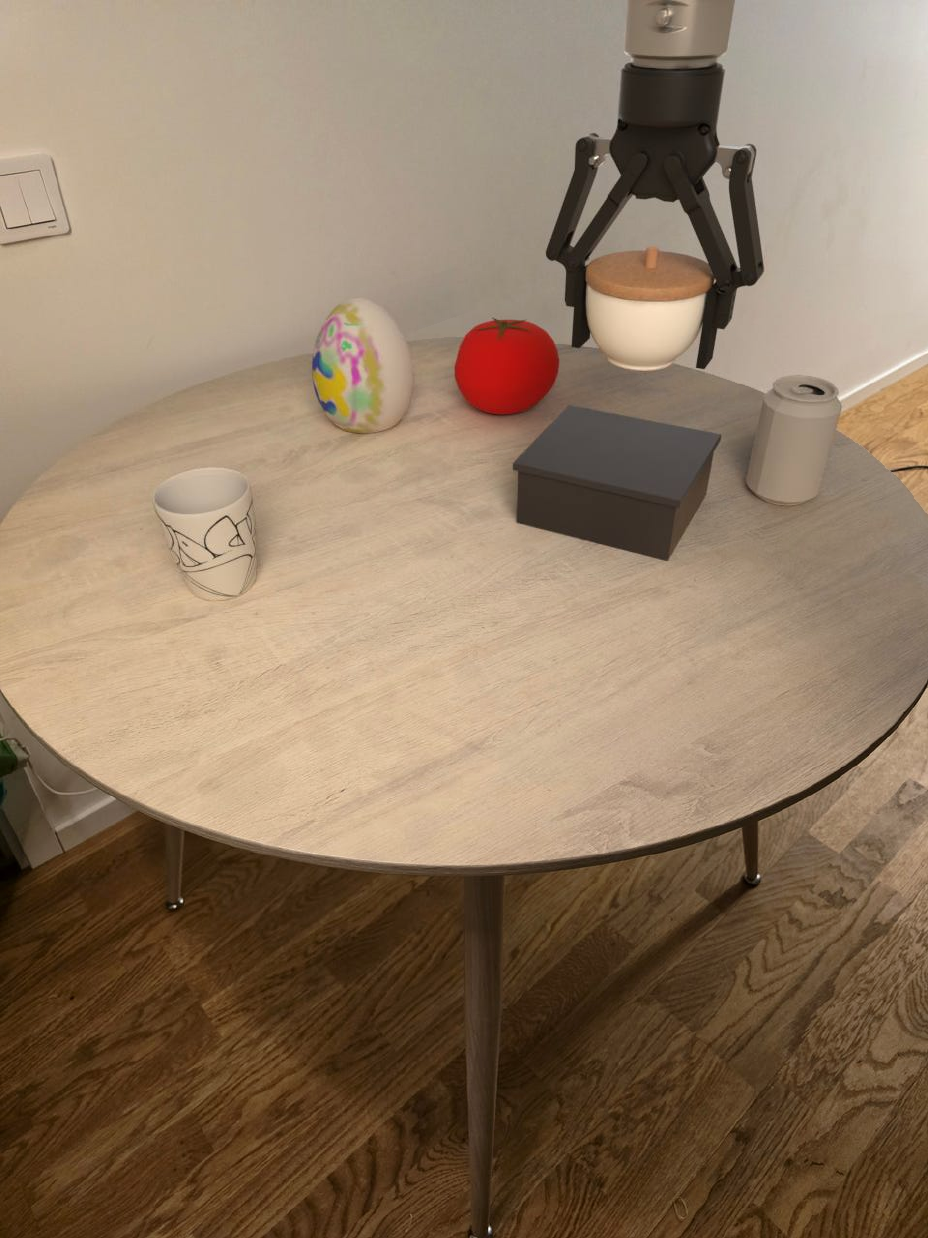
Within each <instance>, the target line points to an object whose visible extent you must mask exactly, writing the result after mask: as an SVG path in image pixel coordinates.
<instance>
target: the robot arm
mask: <svg viewBox="0 0 928 1238" xmlns="http://www.w3.org/2000/svg"><path fill="white" fill-rule="evenodd" d="M735 4H736V0H626V9H625V11H626V12H625V26H624V37H623V38H624V39H623V48H622V49H623V53H624V54H625V55H626V56H627V57H630V62H627V63H625V64H624V67H622V69H621V71H620V83H619V93H618V94H619V95H618V107H617V120H616V121H617V125H616V129H615V132H614V134H613V135H612V137H607V136H606V137H605V136H599V135H598V134H597V133H595V132H591V133H589V134H587V135H585V136H583V137H581V138H579V139H578V140H577V141H576V143H575V148H574V170H573V172H572V176H571V177H570V178H571V179H570V182H569V184H568V187H567V190H566V193H565V196H564V198H563V201H562V205H561V207H560V210H559V213H558V215H557V219H556V221H555V224H554V227H553V230H552V233H551V235H550V238H549V241H548V243H547V247H546V249H545V256H546V259H547V260H549V261H551V262H552V261H553V262H554V261H555V262H556V263H559V264H561V265H562V266H563V267H564V270H565V285H564V287H565V289H564V303H565V306H566V307H570V308H573V316H572V332H571V333H572V334H571V348H574V349H580V348H582V347H583V346H584V344H585V343H587V342H588V341H589V340H590V339H591V332H590V329H589V326H588V322H587V315H586V286H587V282H586V267H587V266H588V264H586V263H587V262H588V261H589V260H590V256H591V255H592V254H593V253H594V251H595V249H596V248H597V247H598V245H599V244H600V242H601V241H602V239H603V238H604V237H605V235H606V233H608V230H610V228H611V226H612V225H613V224H614V222H615V220H616V219H617V218H618V216H619V215H620V213H621V212H622V211H623V209H624V208H625V206H626V205H627V203H628V202H629V201H630V200H631V199H632V197H633V196H634V197H635V200H645V201H646V200H650V199H657V200H660V201H662V202H667V203H675V202H676V201H679V203H680V205H681V208H682V210H683V212H684V213H685V214H686V215H687V216H688V219H689V221H690V223H691V226H692V228H693V230H694V233H695V235H696V237H697V240H698V242H699V244H700V247H701V249H702V252H703V254H704V257H705V259H706V262H707V263H708V264H709V266H710V268H711V271H712V273H713V275H714V278H715V280H714V284H713V285H712V287H711V288H710V289H709V290H708V292H707V298H706V305H705V311H704V318H703V324H702V328H701V331H700V337H699V344H698V350H697V357H696V363H695V369H700V370H705V369H706V368H707V367H708V365H709V364H710V363H711V361H712V360H713V358H714V352H715V345H716V339H717V334H718V329H719V330H725V329H726V328H727V327H728V325H729V324H730V322H731V320H732V319H733V314H734V308H735V301H736V296H737V291H738V288H741V287H752V286H754V285H755V284H756V283H757V282H758V281H759V280H760V278H761V277H762V275H763V274H764V272H765V266H764V265H765V264H764V258H763V251H762V243H761V236H760V227H759V222H758V221H759V220H758V213H757V206H756V198H755V192H754V185H753V173H754V168H755V163H756V162H755V161H756V157H757V148H756V146H755V145H754V144H752V143H746V144H745V145H743V146H733V145H725V144H724V145H723V144H721V143H720V141H719V140H720V139H719V138H718V121H719V114H720V109H721V108H720V107H721V100H722V93H723V87H724V80H725V75H726V74H725V72H726V69H725V68H723V67H724V66H723V64H721V63H719V58H720V57H723V56H725V55H726V54H727V52H729V47H730V39H731V33H732V25H733V17H734V10H735ZM608 155H610V157H611V158H612V161H613V163H614V165H615V167H616V169H617V171H618V173H619V174H620V176H619V178H618V180H616V182H615V184H614V185H613V187H612V188H611V189H610V191H609V193H608V194H607V197H606V199H605V201H604V202H603V203H602V205H601V206H600V207H599V209H598V211H597V212H596V214H595V215H594V217H593V218H592V220H591V221H590V223H589V224H588V226H587V227H586V229H585V230H584V232H583V233H582V235H581V236H580V237H579V239H578V241H577V242H576V243H575V244H574V246H572V245H571V244H572V241H573V239H574V236H575V233H576V230H577V227H578V226H579V222H580V220H581V217H582V214H583V211H584V209H585V206H586V203H587V200H588V198H589V195H590V192H591V190H592V187H593V184H594V182H595V179H596V176H597V173H598V169H599V167H600V166H602V165H604V163H605V162H606V159H607V156H608ZM716 163H718V165H719V166H720V167H721V174H722V176H723V178H725V179H726V180H728V194H729V195H728V196H729V202H730V208H731V215H732V222H733V229H734V235H735V242H736V248H737V255H738V262H739V267H738V264H737V262H736V260H735V257H734V254H733V252H732V250H731V248H730V245H729V242H728V240H727V238H726V235H725V234H724V231H723V228H722V226H721V224H720V221H719V218H718V216H717V214H716V211H715V209H714V207H713V204H712V202H711V198H710V197H711V196H710V192H709V189H708V187H707V184H706V182H705V180H704V176H705V175H706V174H707V172H708V171H709V170H710V169H711V168H712V166H714V164H716Z"/></svg>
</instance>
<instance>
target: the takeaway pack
mask: <svg viewBox="0 0 928 1238" xmlns="http://www.w3.org/2000/svg"><path fill="white" fill-rule="evenodd" d="M721 440H722V433H718V432H717V433H716V432H711V431H706V430H702V429H695V428H690V427H686V426H682V425H681V426H680V425H676V424H670V423H666V422H659V421H654V420H650V419H645V418H639V417H634V416H633V417H632V416H629V415H625V414H619V413H613V412H608V411H603V410H598V409H593V408H588V407H582V406H577V405H572V404H568V406H567V407H565V408H564V409H563V411H562V412H561V413H560V414H559V415H558V416H557V417H556V418H554V420H553V421H552V422H551V423H550V424H549V425H548V426H547V427H546V428H545V429H544V430H543V431H542V432H541V433H540V435H539V436H538V437H537V438H535V439H534V441H533V442H532V443H531V444H530V445H528V447H527V448H526V449H525V450H524V451H523V452H522V453H521V454H520V455H519V456H518V457H517V459H515V460H514V462H513V463H512V470H513V471H515V472H517V497H516V499H517V501H516V523H517V524H520V525H526V526H528V527H532V528H536V529H540V530H544V531H549V532H552V533H556V534H559V535H563V536H564V535H565V536H568V537H572V538H576V539H579V540H583V541H587V542H591V543H595V544H600V545H603V546H607V547H612V548H615V549H620V550H623V551H626V552H631V553H635V554H639V555H643V556H647V557H651V558H654V559H658V560H662V561H666V562H668V561H669V559H670V558H671V556H672V555H673V553H674V551H675V550H676V548H677V545H678V544H679V542H680V540H681V539H682V537H683V535H684V533H685V532H686V530H687V528H688V527H689V525H690V523H691V522H692V520H693V518H694V517H695V514H696V512H697V511H698V510H699V508H700V507H701V504H702V502H703V501H704V499H705V497H706V496H707V493H708V487H709V481H710V476H711V470H712V465H713V460H714V454H715V450H716V449H717V448H718V447H719V445H720V443H721Z"/></svg>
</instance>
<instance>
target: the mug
mask: <svg viewBox="0 0 928 1238" xmlns="http://www.w3.org/2000/svg"><path fill="white" fill-rule="evenodd" d="M151 497H152V498H151V500H152V505H153V509H154V512H155V515H156V518H157V520H158V524H159V526H160V528H161V531H162V534H163V537H164V540H165V543H166V545H167V548H168V550H169V552H170V554H171V556H172V558H173V560H174V562H175V565H176V566H177V568H178V570H179V572H180V574H181V576H182V578H183V580H184V582H185V584H186V586H187V587H188V589H189V590H190V592H191V593H192V594H193V595H194V596H195V597H197V598H198V599H201V600H204V601H210V602H222V601H227V600H232V599H234V598H237V597H239V596H241V595H243V594H245V593H246V592H248V591H249V590H250V589H251V588H252V587H253V585H254V584H255V581H256V578H257V570H258V569H257V565H258V564H257V563H258V561H257V559H258V558H257V557H258V556H257V553H258V551H257V548H258V546H257V545H258V543H257V542H258V539H257V537H258V535H257V524H256V523H257V522H256V515H255V507H254V499H253V497H254V496H253V491H252V485H251V483H250V481H249V478H248V477H247V476H246V475H245V474H243V473H242V472H240V471H238V470H235V469H232V468H229V467H223V466H222V467H221V466H207V467H206V466H205V467H199V468H198V467H197V468H193V469H189V470H185V471H182V472H179V473H176V474H173V475H172V476H170V477H167V478H166V479H164V480H163V481H162V482H161V483H159V484H158V485H157V486H156V488H155V489H154V491H153V493H152V496H151Z"/></svg>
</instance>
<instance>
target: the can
mask: <svg viewBox="0 0 928 1238" xmlns="http://www.w3.org/2000/svg"><path fill="white" fill-rule="evenodd" d="M839 392H840V391H839V388H838V387H837V386H836V385H835V383H832V382H831V381H828V380H826V379H823V378H820V377H816V376H811V375H802V374H799V375H798V374H797V375H796V374H795V375H787V376H786V375H785V376H782V377H780V378H778V379H775V380H774V382H773V383H772V388H771V389H770V390H768V391H767V392H766V393H765V394H764V395H763V397H762V403H761V408H760V412H759V417H758V421H757V426H756V432H755V437H754V442H753V446H752V451H751V456H750V460H749V465H748V469H747V476H746V484H747V486H748V488H749V490H751V491H752V492H753V494H754V495H755V496H756V497H757V498H759V499H760V500H762V501H764V502H766V503H769V504H773V505H777V506H784V507H785V506H798V505H802V504H804V503H805V502H808V501H810V500H811V499H814V498H816V497H817V495H818V494H819V492H820V490H821V486H822V483H823V479H824V475H825V471H826V468H827V464H828V460H829V456H830V453H831V450H832V446H833V442H834V438H835V434H836V430H837V428H838V423H839V420H840V416H841V412H842V408H843V406H842V402H841V401H840V399H839V398H838V396H839V395H840V393H839Z"/></svg>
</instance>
